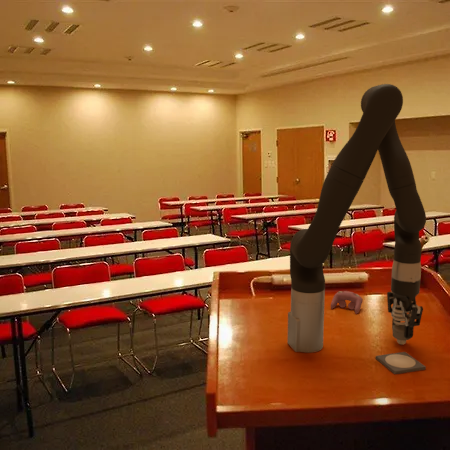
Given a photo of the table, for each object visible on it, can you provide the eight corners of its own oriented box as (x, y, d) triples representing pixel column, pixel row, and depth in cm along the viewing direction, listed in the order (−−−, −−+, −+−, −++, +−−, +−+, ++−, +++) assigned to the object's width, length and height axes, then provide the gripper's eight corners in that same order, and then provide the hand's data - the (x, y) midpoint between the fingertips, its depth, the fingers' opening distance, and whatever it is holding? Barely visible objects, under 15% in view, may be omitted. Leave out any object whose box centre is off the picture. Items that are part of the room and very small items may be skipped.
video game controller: (361, 315, 177) (365, 294, 178) (357, 313, 173) (361, 292, 174) (333, 310, 182) (336, 289, 183) (328, 308, 178) (332, 287, 180)
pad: (394, 374, 135) (394, 371, 135) (375, 358, 143) (375, 355, 143) (425, 369, 137) (425, 366, 137) (405, 354, 146) (405, 351, 145)
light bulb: (415, 344, 152) (418, 304, 149) (406, 351, 148) (409, 309, 145) (396, 338, 155) (398, 299, 153) (387, 345, 151) (389, 304, 149)
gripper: (379, 270, 153) (376, 325, 156) (409, 285, 139) (405, 345, 143) (402, 267, 155) (399, 322, 158) (434, 282, 141) (429, 342, 145)
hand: (402, 333), depth 151 cm, fingers closed on light bulb, 5 cm apart
